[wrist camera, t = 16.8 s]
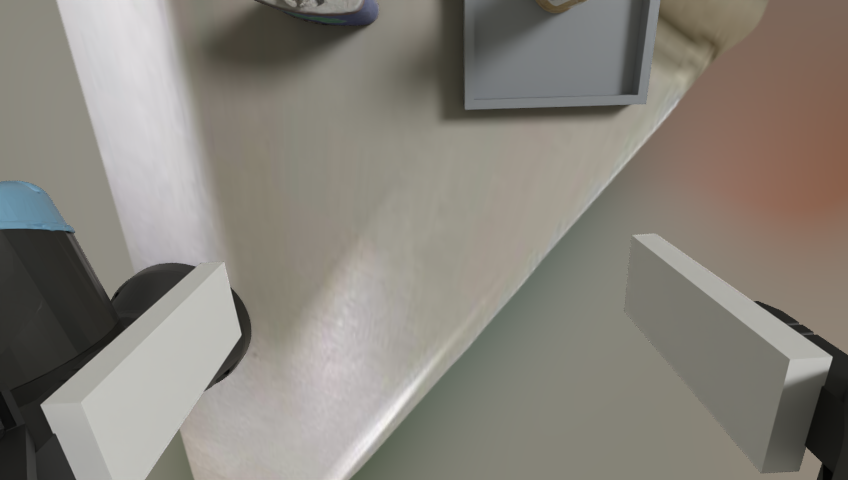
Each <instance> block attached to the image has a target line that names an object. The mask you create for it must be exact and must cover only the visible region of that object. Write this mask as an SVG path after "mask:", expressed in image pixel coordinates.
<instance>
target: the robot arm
mask: <svg viewBox="0 0 848 480" xmlns="http://www.w3.org/2000/svg"><path fill="white" fill-rule="evenodd" d="M73 233H75V231H74V229H73V228H72V227H71V226H69V225H67V224H66V222H65V220H64V219H63V217H62V216H61V214H60V213H59V211H58V209H57V208H56V206H55V205H54V203H53V201H52V200H51V198H50V197H49V196H48V194H47V193H46V192H45V191H44V190H43V189H41V188H40V187H38V186H36V185H34V184H31V183H28V182H23V181H2V182H0V480H145V478H146V477H147V475H148V474H149V472H150V471H151V469H152V468H153V466H154V465H155V463H156V462H157V460H158V459H159V457H160V456H161V455H162V453H163V452H164V450H165V449H166V447H167V446H168V444H169V443H170V441H171V440H172V438H173V437H174V435H175V434H176V432H177V431H178V429H179V428H180V426H181V425H182V423H183V422H184V420H185V419H186V417H187V416H188V414H189V413H190V411H191V410H192V408H193V407H194V405H195V404H196V402H197V401H198V399H199V398H200V396H201V395H202V393H203V392H204V391H206V390H207V389H209V388H211V387H212V386H213V385H214V384H216V383H218V382H220V381H221V380H223V379H224V378H226V377H227V376H228V375H229V374H230V373H231V372H232V371H233V370H234V369H235V368H236V367H237V365H238V364H239V362H240V361H241V359H242V358H243V356H244V355H245V353H246V351H247V349H248V347H249V344H250V340H251V323H250V319H249V315H248V312H247V310H246V308H245V306H244V304H243V302H242V301H241V299H240V298H239V296H238V295H237V294H236V293H235V292H234V290H233V289H232V288H231V287H230V284H229V280H228V276H227V272H226V268H225V264H224V262H212V263H200V264H199V265H198V266H197V267H195V266H191V265H186V264H179V263H165V264H158V265H154V266H151V267H148V268H146V269H144V270H142V271H140V272H139V273H137V274H136V275H135V276H133V277H132V278H130V279H129V280H128V281H126V282H125V283H124V284H123V285H122V286H121V287H120V288H119V289H118V290H117V291H116V292H115V294H114V296H113V297H112V299H111V301H110V299H109V297H108V296H107V294H106V292H105V290H104V288H103V287H102V285H101V283H100V281H99V280H98V277H97V276H96V274H95V272H94V270H93V268H92V267H91V265H90V263H89V261H88V260H87V258H86V256H85V254H84V252H83V250H82V249H81V247H80V245H79V243H78V241H77V240H76V238H75V236H74V234H73ZM624 311H625V313H626V314H627V315H628V316H629V317H630V319H631V320H632V321H633V322H634V323H635V324H636V326H637V327H638V328H639V329H640V331H641V332H642V333H643V334H644V335H645V336H646V338H647V339H648V340H649V341H650V342H651V344H652V345H653V346H654V347H655V348H656V350H657V351H658V352H659V353H660V354H661V355H662V357H663V358H664V359H665V360H666V361H667V363H668V364H669V365H670V366H671V367H672V369H673V370H674V371H675V372H676V373H677V374H678V376H679V377H680V378H681V379H682V380H683V382H684V383H685V384H686V385H687V386H688V387H689V389H690V390H691V391H692V392H693V393H694V395H695V396H696V397H697V398H698V399H699V401H700V402H701V403H702V404H703V405H704V406H705V408H706V409H707V410H708V411H709V412H710V413H711V415H712V416H713V417H714V418H715V419H716V421H717V422H718V423H719V424H720V425H721V427H722V428H723V429H724V430H725V431H726V433H727V434H728V435H729V436H730V437H731V438H732V440H733V441H734V442H735V443H736V444H737V446H738V447H739V448H740V449H741V450H742V451H743V453H744V454H745V455H746V456H747V457H748V459H749V460H750V461H751V462H752V463H753V464H754V466H755V467H756V468H757V469H758V470H759V472H760V473H775V472H776V473H777V472H793V471H799V469H800V466H801V463H802V459H803V456H804V453H805V449H806V447H807V448H808V449H809V450H810V451H811V452H812V453H813V454H814V455H815V456H816V457H817V458H818V459H819V460H820V461H821V462H822V465H821V468H820V471H819V474H818V478H817V480H848V355H847V354H845V353H844V352H842V351H841V350H839V349H838V348H836V347H835V346H833V345H832V344H830V343H829V342H827V341H826V340H825V339H823V338H821V337H820V336H819V335H814V334H813V331H811V330H810V329H808V328H807V327H805V326H803V325H799V322H797V321H796V320H795V319H793V318H792V317H790V316H788V315H787V314H786V313H784V312H783V311H781V310H779V309H776V308H774V307H771V306H769V305H766V304H764V303H761V302H759V301H752V300H750V299H749V298H748V297H746V296H745V295H743V294H742V293H740V292H739V291H737V290H736V289H735V288H733V287H732V286H730V285H729V284H727V283H726V282H724V281H723V280H722V279H720V278H719V277H717V276H716V275H715V274H713V273H711V272H710V271H709V270H707V269H706V268H704V267H703V266H701V265H700V264H699V263H697V262H696V261H694V260H693V259H691V258H690V257H689V256H687V255H686V254H684V253H683V252H682V251H680V250H679V249H677V248H676V247H674V246H673V245H671V244H670V243H669V242H667V241H666V240H664V239H663V238H661V237H660V236H659V235H657V234H641V235H632V237H631V247H630V257H629V267H628V277H627V287H626V297H625V307H624Z"/></svg>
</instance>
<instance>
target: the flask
mask: <svg viewBox="0 0 848 480" xmlns="http://www.w3.org/2000/svg"><path fill="white" fill-rule="evenodd" d="M255 1H257V2H260V3H262V4H265V5H268V6H271V7H273V8H276V9H279V10H281V11H283V12H284V13H286V14H289V15H290V16H292V17H294V18H295V17H296V18H299V19H302V20H304V21H310V22H312V23H316V24H318V23H319V24H323V25H343V26H345V25H349V26H357V25H358V26H360V25H361V26H362V25H367V24H370V23H372V22H374V21H375V20H376V19H377V17H378V15H379V4H378V3H377V1H376V0H255Z"/></svg>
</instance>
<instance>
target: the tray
mask: <svg viewBox="0 0 848 480" xmlns="http://www.w3.org/2000/svg"><path fill="white" fill-rule="evenodd" d="M659 6H660V0H588V1H586V2H584V3H582V4H580V5H577V6H575V7H573V8H571V9H569V10H567V11H565V12H562V13H551V12H548V11H546V10H544V9H543V8H541V7H540V6H539V5H538V3H537V2H536V0H463V107H464V109H465V110H471V109H503V108H535V107H567V106H599V105H631V104H646V100H647V93H648V86H649V79H650V71H651V64H652V57H653V49H654V42H655V35H656V27H657V20H658V13H659Z"/></svg>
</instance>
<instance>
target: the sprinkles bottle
mask: <svg viewBox="0 0 848 480" xmlns="http://www.w3.org/2000/svg"><path fill="white" fill-rule="evenodd" d="M586 1H588V0H536V2H537V3H538V5H539V6H540V7H541V8H543V9H544V10H546V11H548V12H551V13H562V12H565V11H567V10H569V9H571V8H573V7H575V6H577V5H580V4H582V3H584V2H586Z"/></svg>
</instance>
